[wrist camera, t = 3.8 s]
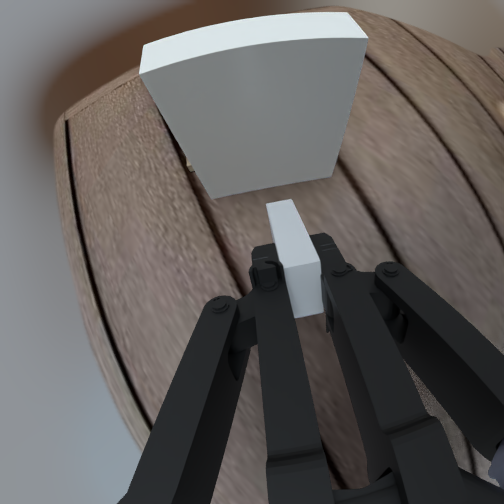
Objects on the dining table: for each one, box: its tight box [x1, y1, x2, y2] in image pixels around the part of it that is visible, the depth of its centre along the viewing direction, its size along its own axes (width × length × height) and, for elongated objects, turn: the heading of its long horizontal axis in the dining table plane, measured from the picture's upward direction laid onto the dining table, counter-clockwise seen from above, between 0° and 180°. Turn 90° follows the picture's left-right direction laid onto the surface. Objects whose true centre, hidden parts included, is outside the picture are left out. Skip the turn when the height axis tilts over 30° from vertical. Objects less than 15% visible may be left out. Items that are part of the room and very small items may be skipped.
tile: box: [139, 12, 368, 199], centre depth 17 cm, size 3×10×14 cm, turn 100°
